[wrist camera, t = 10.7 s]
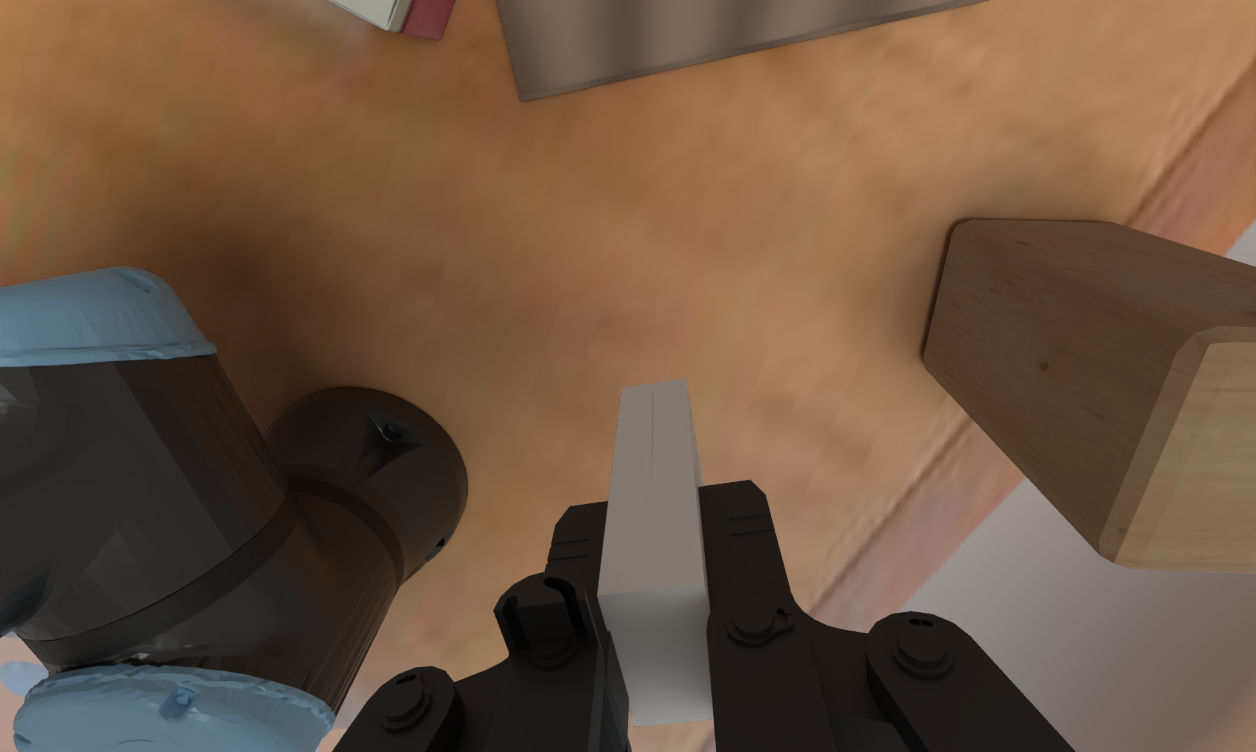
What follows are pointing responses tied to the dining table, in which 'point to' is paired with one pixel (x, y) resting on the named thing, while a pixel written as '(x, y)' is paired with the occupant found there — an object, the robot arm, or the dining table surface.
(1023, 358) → the wooden block
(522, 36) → the plank
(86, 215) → the dining table surface
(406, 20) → the small box
